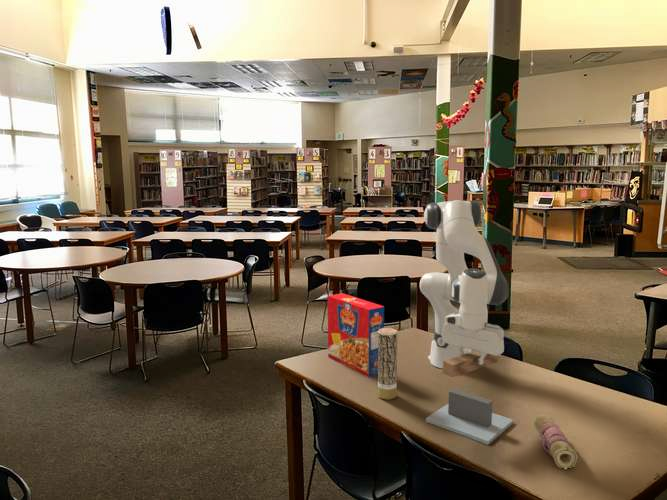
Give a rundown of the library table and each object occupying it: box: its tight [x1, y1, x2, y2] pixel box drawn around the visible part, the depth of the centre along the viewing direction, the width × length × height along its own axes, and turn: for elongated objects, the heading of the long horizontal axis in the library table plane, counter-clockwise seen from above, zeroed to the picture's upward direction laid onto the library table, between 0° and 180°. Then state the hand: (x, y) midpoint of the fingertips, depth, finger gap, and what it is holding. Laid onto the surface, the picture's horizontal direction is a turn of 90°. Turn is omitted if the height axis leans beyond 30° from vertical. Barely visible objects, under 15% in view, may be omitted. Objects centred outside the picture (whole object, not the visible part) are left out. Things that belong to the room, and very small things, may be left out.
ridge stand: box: [425, 388, 514, 446], centre depth 171 cm, size 22×18×9 cm
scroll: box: [533, 413, 579, 469], centre depth 153 cm, size 8×8×20 cm
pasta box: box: [327, 292, 385, 378], centre depth 220 cm, size 28×8×28 cm, turn 36°
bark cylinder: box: [377, 327, 398, 401], centre depth 189 cm, size 7×7×25 cm
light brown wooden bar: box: [442, 350, 499, 378], centre depth 168 cm, size 22×4×4 cm, turn 126°
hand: (471, 361), depth 168 cm, fingers closed on light brown wooden bar, 4 cm apart
